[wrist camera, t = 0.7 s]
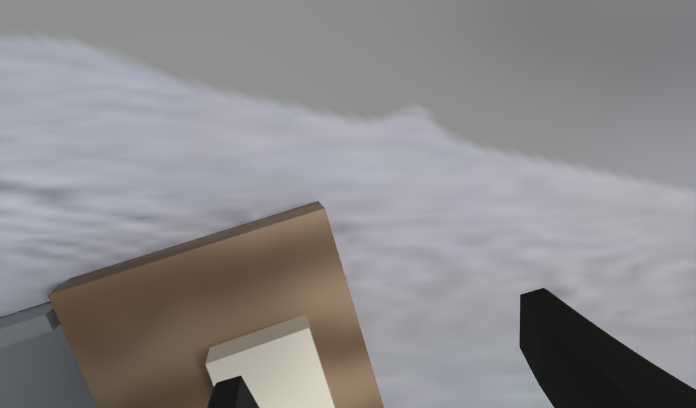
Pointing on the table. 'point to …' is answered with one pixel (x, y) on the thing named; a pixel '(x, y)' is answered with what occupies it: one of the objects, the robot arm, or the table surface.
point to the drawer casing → (213, 312)
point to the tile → (275, 366)
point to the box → (39, 363)
